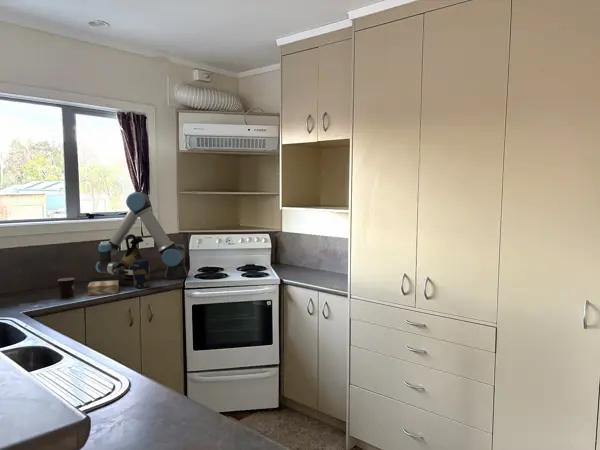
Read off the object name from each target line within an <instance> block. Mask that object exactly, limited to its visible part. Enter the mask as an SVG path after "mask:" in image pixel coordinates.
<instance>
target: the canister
mask: <svg viewBox="0 0 600 450" xmlns="http://www.w3.org/2000/svg"><path fill="white" fill-rule="evenodd" d="M149 267H150V262H149V259H139V260H134V261H133V277H134V279H133V286H134V288H137V289H141V288H148V287H150V286H151V280H150V278H151V277H150V276H151V275H150V274H151V273H150V271H149Z"/></svg>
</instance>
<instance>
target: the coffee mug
mask: <svg viewBox="0 0 600 450" xmlns="http://www.w3.org/2000/svg"><path fill="white" fill-rule="evenodd" d="M57 284H58V290H59V295H60V299H69V298H72V297H74V291H75V277H64V278H59V279H57Z"/></svg>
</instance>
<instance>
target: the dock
mask: <svg viewBox="0 0 600 450" xmlns="http://www.w3.org/2000/svg"><path fill="white" fill-rule="evenodd" d="M119 282H120V281H119V280H118V279H116V280H100V281H90V282H89V283H88V285H87V296H97V295H110V293H112V294H118V293H119V290H120V285H119V284H120V283H119Z"/></svg>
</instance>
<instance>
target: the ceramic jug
mask: <svg viewBox="0 0 600 450" xmlns="http://www.w3.org/2000/svg"><path fill="white" fill-rule="evenodd" d="M130 238H132V240H131V241H130V242H129V239H130ZM143 242H145V241H144V239H143V238H142V237H140V236H137V237H136V235H135V234H133V233H130V234H129V233H128V234H127V236H126V237H125V244H126V252H125V253H124V254H123V256H122V258H121V260H120V262H119V263H123V264H124V265H125V266H130V265H131V266H133V261H134V260H139V259H143V255H142V254H141V252H140V251H139V248H138V244H140V243H143ZM130 244H131V246H130ZM129 270H130V269H129ZM122 276H123V278H126V279H129V280H134V277H133V275H127V274H124V275H122Z"/></svg>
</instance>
